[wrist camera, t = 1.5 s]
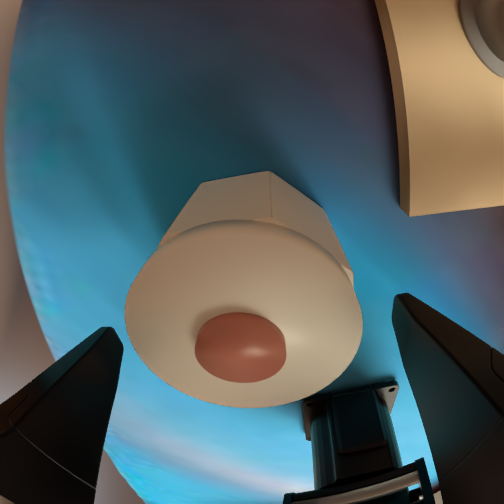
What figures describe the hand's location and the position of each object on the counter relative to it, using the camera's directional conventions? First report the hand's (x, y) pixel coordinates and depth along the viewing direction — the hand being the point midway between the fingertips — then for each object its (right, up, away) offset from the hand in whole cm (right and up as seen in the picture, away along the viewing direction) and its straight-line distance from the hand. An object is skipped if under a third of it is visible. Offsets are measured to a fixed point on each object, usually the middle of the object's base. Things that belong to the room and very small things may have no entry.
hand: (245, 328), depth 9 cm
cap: (0, +2, +4) cm, 5 cm away
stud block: (+10, +12, -2) cm, 16 cm away
